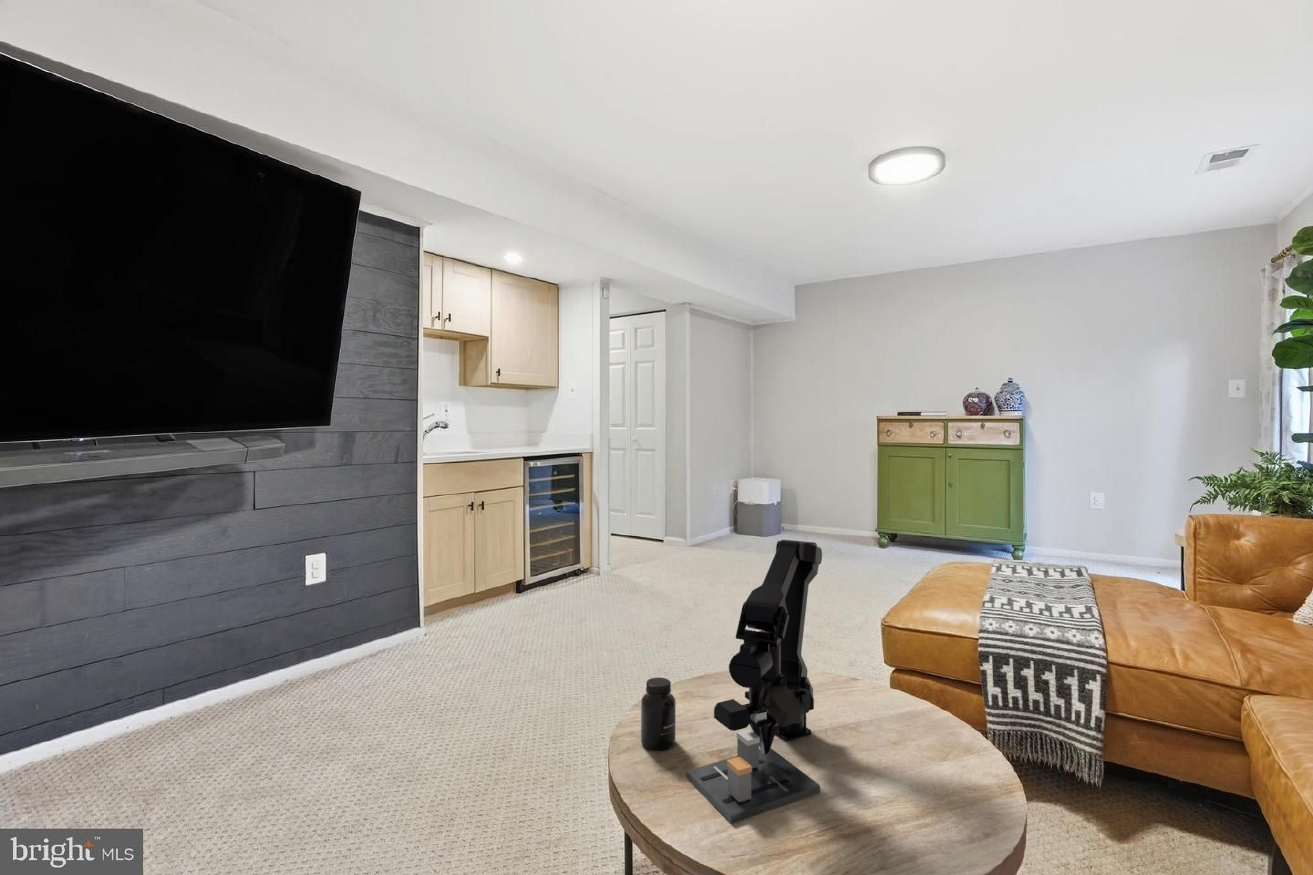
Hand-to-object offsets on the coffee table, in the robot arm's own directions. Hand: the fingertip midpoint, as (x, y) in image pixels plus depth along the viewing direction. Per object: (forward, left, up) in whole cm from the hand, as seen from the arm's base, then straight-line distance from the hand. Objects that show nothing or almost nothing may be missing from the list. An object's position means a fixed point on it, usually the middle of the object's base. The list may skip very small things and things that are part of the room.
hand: (765, 752), depth 108 cm
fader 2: (+10, +7, -1) cm, 13 cm away
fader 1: (+4, 0, -1) cm, 4 cm away
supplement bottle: (+13, -17, -3) cm, 21 cm away
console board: (+5, +3, -3) cm, 7 cm away
